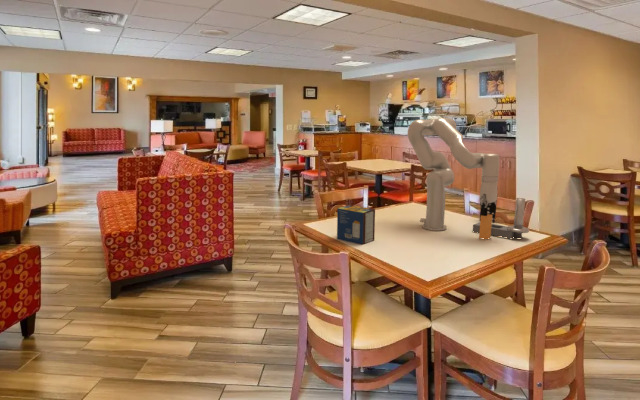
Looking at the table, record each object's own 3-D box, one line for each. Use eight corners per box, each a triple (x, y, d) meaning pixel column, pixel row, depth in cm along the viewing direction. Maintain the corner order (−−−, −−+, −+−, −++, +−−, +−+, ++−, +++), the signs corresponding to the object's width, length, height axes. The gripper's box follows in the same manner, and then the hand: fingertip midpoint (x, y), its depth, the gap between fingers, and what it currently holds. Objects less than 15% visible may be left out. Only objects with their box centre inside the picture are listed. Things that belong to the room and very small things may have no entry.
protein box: (348, 234, 214) (349, 204, 211) (374, 240, 204) (375, 208, 201) (336, 239, 206) (336, 207, 203) (362, 245, 196) (363, 212, 193)
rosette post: (502, 238, 210) (506, 198, 206) (510, 234, 217) (514, 196, 213) (523, 242, 203) (527, 201, 199) (531, 238, 210) (535, 198, 206)
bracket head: (472, 231, 221) (473, 224, 221) (480, 229, 228) (480, 221, 227) (511, 239, 207) (512, 231, 207) (518, 236, 214) (519, 228, 213)
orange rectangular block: (478, 238, 209) (480, 214, 207) (482, 236, 212) (484, 213, 210) (486, 239, 206) (488, 215, 204) (490, 238, 209) (492, 214, 207)
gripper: (490, 177, 212) (488, 210, 215) (474, 180, 200) (472, 215, 203) (505, 178, 207) (503, 212, 210) (489, 181, 195) (487, 217, 198)
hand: (488, 214), depth 206 cm, fingers open, 9 cm apart
